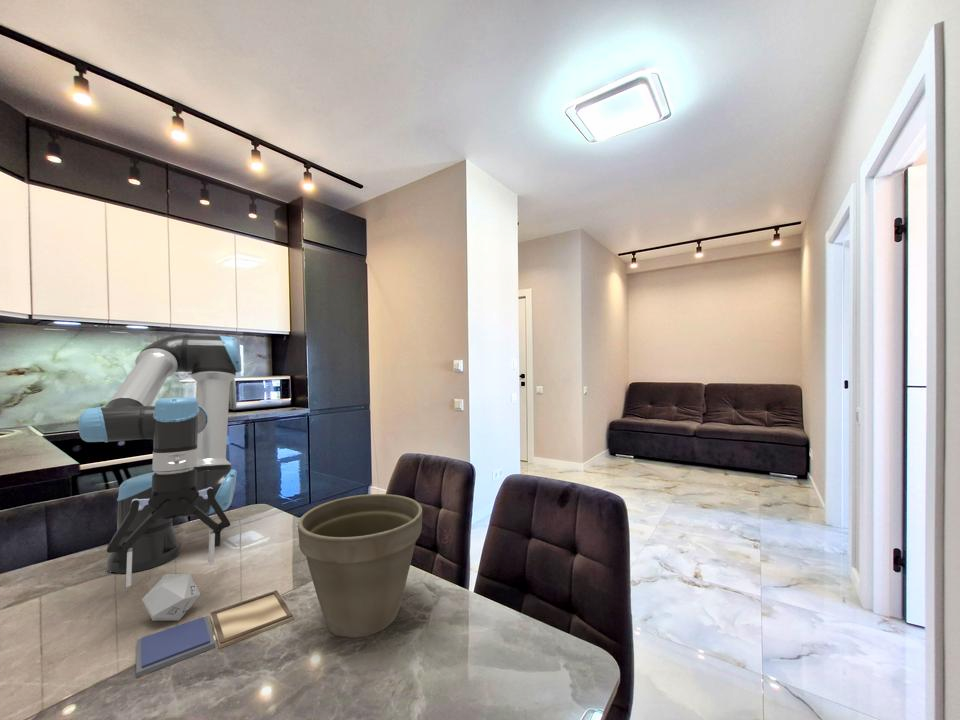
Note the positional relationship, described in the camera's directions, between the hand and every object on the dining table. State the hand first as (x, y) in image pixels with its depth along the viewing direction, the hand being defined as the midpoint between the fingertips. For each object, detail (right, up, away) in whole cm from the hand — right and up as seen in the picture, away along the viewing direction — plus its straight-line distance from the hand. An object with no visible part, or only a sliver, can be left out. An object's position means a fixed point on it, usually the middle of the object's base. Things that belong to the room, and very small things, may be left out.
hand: (172, 572), depth 82 cm
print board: (+17, -9, -1) cm, 19 cm away
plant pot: (+40, -9, -1) cm, 41 cm away
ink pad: (+8, -9, -9) cm, 15 cm away
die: (0, -9, 0) cm, 9 cm away
